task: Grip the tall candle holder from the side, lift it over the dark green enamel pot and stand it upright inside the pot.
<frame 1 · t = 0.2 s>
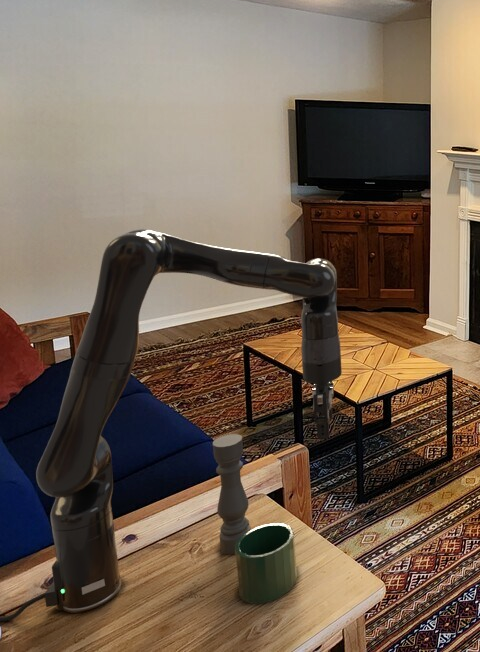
hand: (325, 428, 130), 29 cm above the table, tool pointing down, fingers open, 8 cm apart
pot: (268, 584, 125), on the table
candle holder: (236, 545, 137), on the table
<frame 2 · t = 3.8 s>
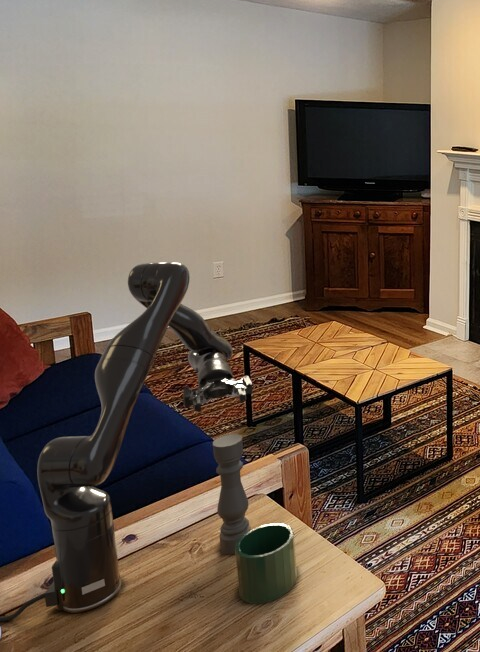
hand: (220, 403, 141), 30 cm above the table, tool horizontal, fingers open, 8 cm apart
nothing on the table moved.
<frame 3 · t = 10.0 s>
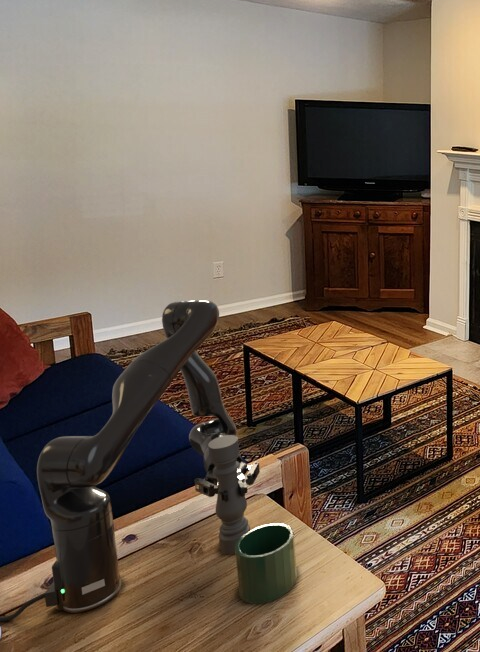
hand: (234, 495, 133), 14 cm above the table, tool horizontal, fingers closed on candle holder, 2 cm apart
candle holder: (236, 545, 137), on the table, touching gripper
when the fingers open (15 cm above the table, at t = 18.4 s): candle holder stays where it is, resting on pot.
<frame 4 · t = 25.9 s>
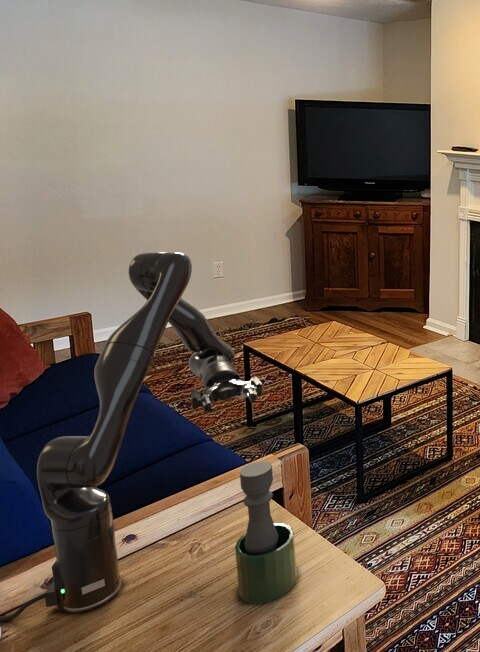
hand: (231, 403, 135), 32 cm above the table, tool horizontal, fingers open, 8 cm apart
candle holder: (264, 583, 125), resting on pot
at the end: candle holder 0.6 cm off-centre in the pot, point 0.4 cm above the pot's base; candle holder tilted 0°; the gripper is holding nothing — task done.
